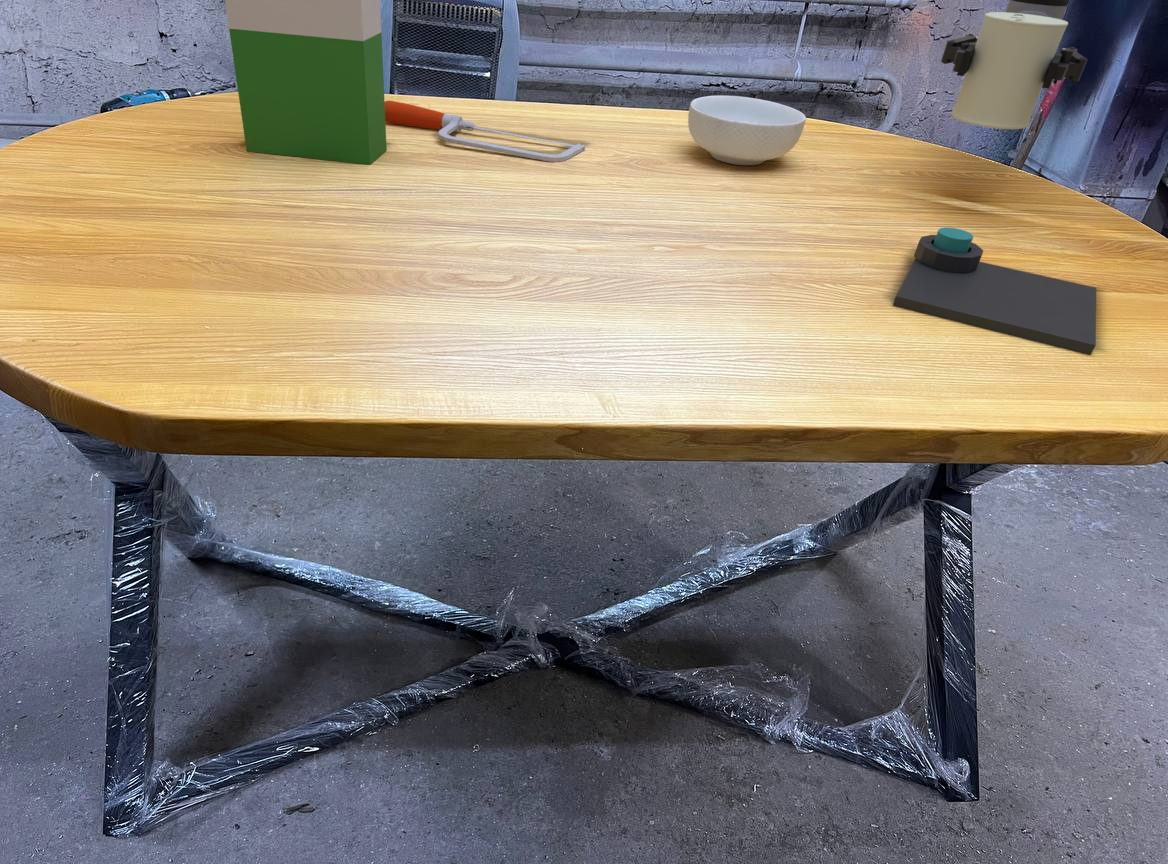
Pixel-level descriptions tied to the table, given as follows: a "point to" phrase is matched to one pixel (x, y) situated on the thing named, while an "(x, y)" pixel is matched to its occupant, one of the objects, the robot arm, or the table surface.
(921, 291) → the scale
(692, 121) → the cereal bowl
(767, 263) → the table surface
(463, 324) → the table surface
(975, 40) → the robot arm
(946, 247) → the tare button
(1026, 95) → the can
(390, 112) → the hand saw
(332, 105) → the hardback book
